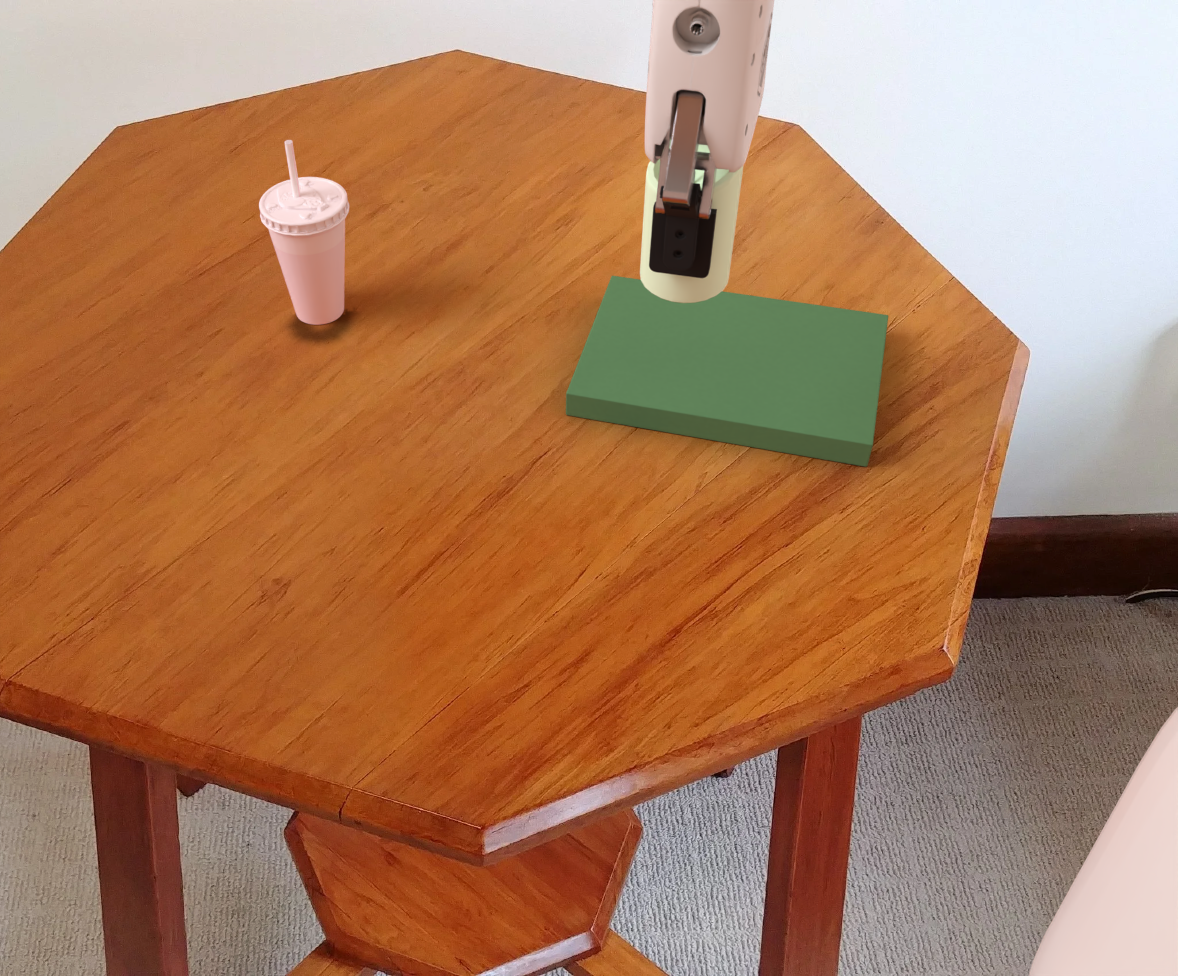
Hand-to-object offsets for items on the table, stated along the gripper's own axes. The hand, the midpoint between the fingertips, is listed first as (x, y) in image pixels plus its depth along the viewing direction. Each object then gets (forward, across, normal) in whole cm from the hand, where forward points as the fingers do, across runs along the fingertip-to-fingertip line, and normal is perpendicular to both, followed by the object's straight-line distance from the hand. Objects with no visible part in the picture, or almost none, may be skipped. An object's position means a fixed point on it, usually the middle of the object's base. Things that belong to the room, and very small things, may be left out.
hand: (687, 241), depth 68 cm
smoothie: (+18, +11, +28) cm, 35 cm away
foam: (+18, +10, -3) cm, 21 cm away
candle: (+3, 0, 0) cm, 3 cm away
